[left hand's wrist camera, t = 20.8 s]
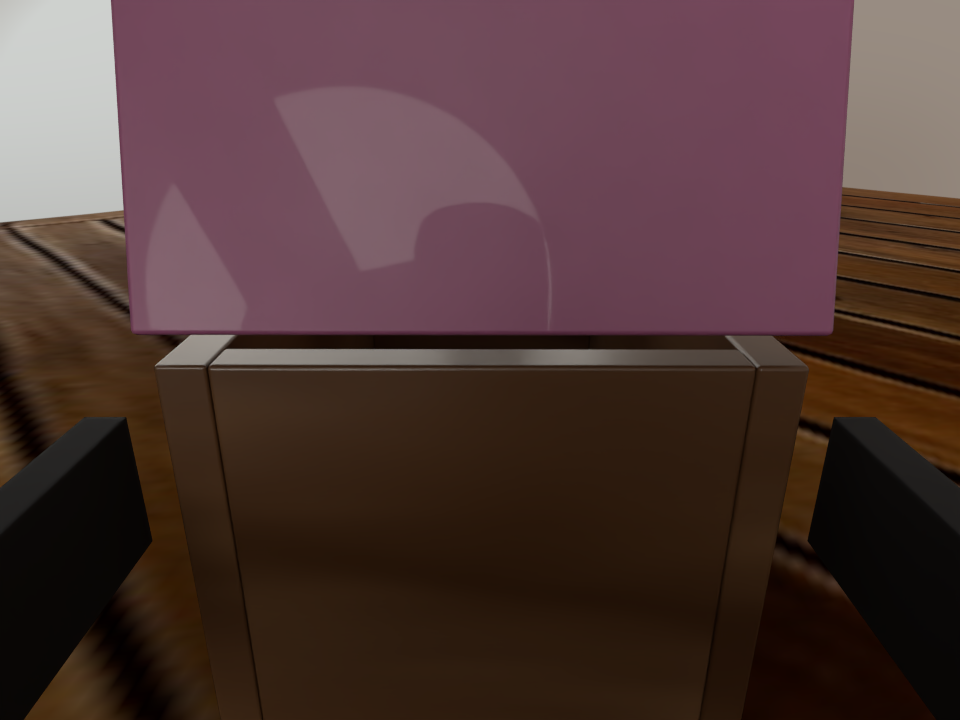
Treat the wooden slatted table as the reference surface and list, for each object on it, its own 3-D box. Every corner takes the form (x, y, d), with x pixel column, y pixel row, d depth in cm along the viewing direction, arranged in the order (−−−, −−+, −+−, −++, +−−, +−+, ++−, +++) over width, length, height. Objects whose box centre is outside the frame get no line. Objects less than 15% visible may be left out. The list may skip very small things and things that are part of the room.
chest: (361, 421, 29) (346, 201, 25) (600, 422, 29) (617, 201, 25) (231, 785, 14) (150, 366, 10) (730, 786, 14) (812, 367, 10)
